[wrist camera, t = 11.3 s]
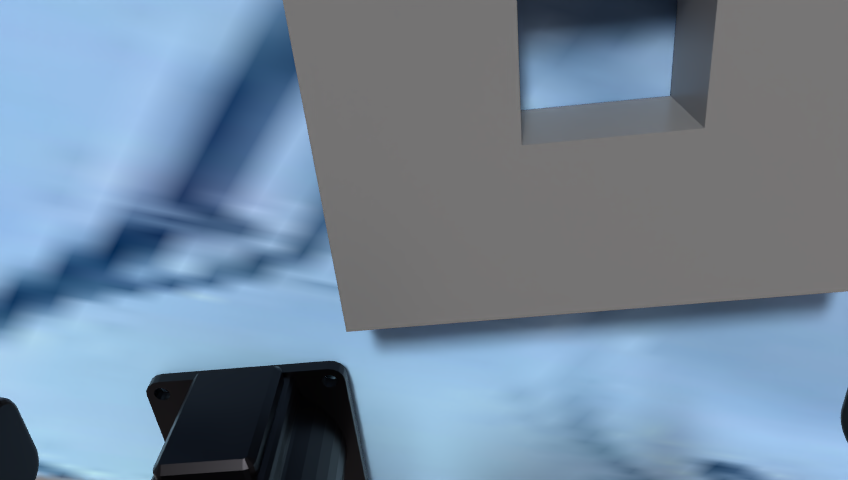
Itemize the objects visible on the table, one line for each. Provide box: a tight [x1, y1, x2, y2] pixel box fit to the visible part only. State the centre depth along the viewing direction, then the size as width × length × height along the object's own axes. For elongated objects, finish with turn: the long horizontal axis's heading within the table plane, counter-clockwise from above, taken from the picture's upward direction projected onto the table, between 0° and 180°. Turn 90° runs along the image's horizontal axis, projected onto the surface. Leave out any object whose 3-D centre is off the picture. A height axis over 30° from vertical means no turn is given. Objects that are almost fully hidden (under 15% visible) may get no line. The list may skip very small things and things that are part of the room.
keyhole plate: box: [283, 0, 848, 332], centre depth 16 cm, size 14×14×2 cm
